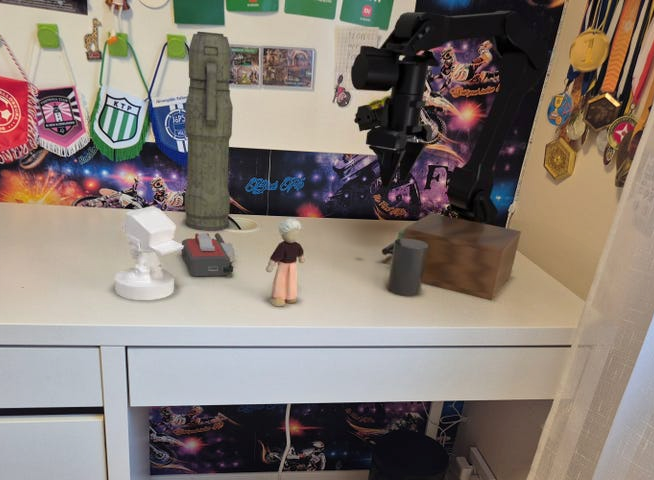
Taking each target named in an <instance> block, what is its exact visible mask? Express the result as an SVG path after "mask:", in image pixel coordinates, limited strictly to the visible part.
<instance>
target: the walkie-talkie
mask: <svg viewBox="0 0 654 480" xmlns="http://www.w3.org/2000/svg"><path fill="white" fill-rule="evenodd" d="M181 244H182V245H184V248H183V249H181V250H180V251H181V256H182V258H183V261H184V262H185V265H186V267H187V270H188V272H189V274H190V275H191V276H193V277H225V276H227V275H230V274H232V273H233V272H234V266H233V265H232V262H234V261H235V249H234V247H233V244H232V243H231V242H225V241H224V239H223V237H222V235H221V234H220V233H219V232H216V233H215V234H214V238H212V237H211V236H210V234H209V233H206V232H205V233H203V232H202V233H201V232H200V233H199V232H196V233H195V234H194V238H185V239H182V240H181Z"/></svg>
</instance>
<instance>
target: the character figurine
mask: <svg viewBox="0 0 654 480" xmlns="http://www.w3.org/2000/svg"><path fill="white" fill-rule="evenodd" d="M176 229H177V225H176V224H175V223H174V222H173V221H172V219H171V218H169V216H167V214H166V213H165V212H164V211H162V210H161V208H158V207H156V206H154V205H151V206H146V207H142V208H139V209H138V208H137V209H133V210H130V211H126V213H125V215H124V223H123V233H124V234H125V235H126V237H127V239H128V240H129V243H128V244H129V249H130V255H131V259H133V260H135V262H134V263H135V265H134V266H133V268H127V269H124V270H122V271H119V272H117V273H116V274H115V275H114V291H115V293H116V294H117V295H118V296H119V297H122V298H125V299H128V300H133V301H154V300H159V299H165V298H166V297H169V296H171V295H172V294H173V293H174V292H175V276H174V274H173V273H171V272H170V271H168V270H166V269H162V268H163V264H162V261H161V260H160V258H159V255H160V256H165V255H168V254H171V253H175V252H178V251H181V249H183V248H184V245H182V243H180V242H177V241H176V240H174V238H175V234H176Z"/></svg>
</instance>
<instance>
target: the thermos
mask: <svg viewBox="0 0 654 480" xmlns="http://www.w3.org/2000/svg"><path fill="white" fill-rule="evenodd" d="M196 32H197V33H193V34H192V37H191V41H190V44H189V48H188V79H189V86H188V93H187V97H186V100H185V103H184V104H185V105H184V107H185V108H184V109H185V110H184V117H185V118H184V121H185V123H184V124H185V125H184V129H185V130H184V132H185V135H186V137H187V185H186V188H185V193H184V212H185V225H186V227H189V228H191V229H195V230H200V231H221V230H226V229H227V228H228V227H229V215H230V212H231V211H230V208H231V197H230V192H229V188H228V184H229V157H230V154H229V153H230V140H231V137H232V135H233V109H234V108H233V107H234V106H233V104H232V103H233V102H232V99H231V90H230V82H231V71H232V70H231V69H232V66H231V65H232V52H231V50H232V49H231V46H230V43H229V39H228V36H224V33H218V32H207V31H196Z"/></svg>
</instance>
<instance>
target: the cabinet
mask: <svg viewBox="0 0 654 480" xmlns="http://www.w3.org/2000/svg"><path fill="white" fill-rule="evenodd" d="M422 218H423V217H422ZM422 218H420V219H421V220H420V219H418V220H419V221H418V220H417V221H415V222H416V223H415V222H413V223H414V224H413V223H411V224H412V225H411V224H410V225H408V226H409V227H408V226H406V227H407V228H406V227H404V228H405V232H404V239H415V240H419V241H423V242H425V243H427V244H428V252H427V257H426V263H425V268H424V274H423V280H422V284H425V285H429V286H434V287H438V288H441V289H446V290H449V291H454V292H458V293H462V294H465V295H470V296H474V297H478V298H483V299H486V300H491V301H492V300H493V299H494V298H495V296H496V295H497V294H498V293H499V292H500V290H501V289H502V288H503V286H504V285H505V284H506V283H507V282H508V280H509V279H510V278H511V275H512V271H513V267H514V263H515V259H516V254H517V250H518V246H519V242H520V238H521V234H522V231H521V230H517V229H512V228H507V227H504V226H503V227H502V226H497V225H492V224H488V223H485V224H483V223H478V222H473V221H468V220H463V219H458V218H457V217H453V216H447V215H442V214H437V213H432V212H431V213H430V214H427V215H426V216H425V217H424V218H423V219H422Z"/></svg>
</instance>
